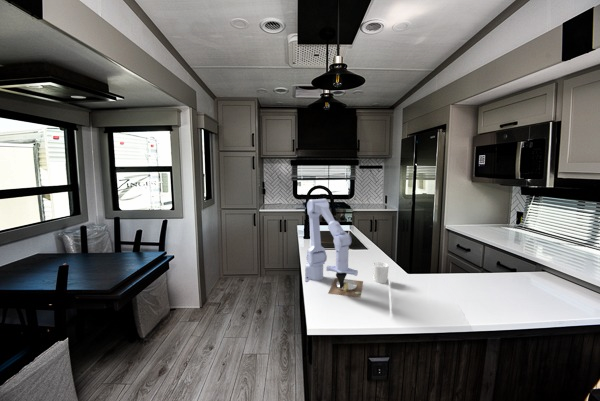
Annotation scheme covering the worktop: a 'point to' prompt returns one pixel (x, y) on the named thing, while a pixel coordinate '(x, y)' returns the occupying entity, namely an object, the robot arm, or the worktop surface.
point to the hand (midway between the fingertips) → (341, 287)
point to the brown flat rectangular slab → (350, 293)
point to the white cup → (380, 272)
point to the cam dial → (347, 286)
